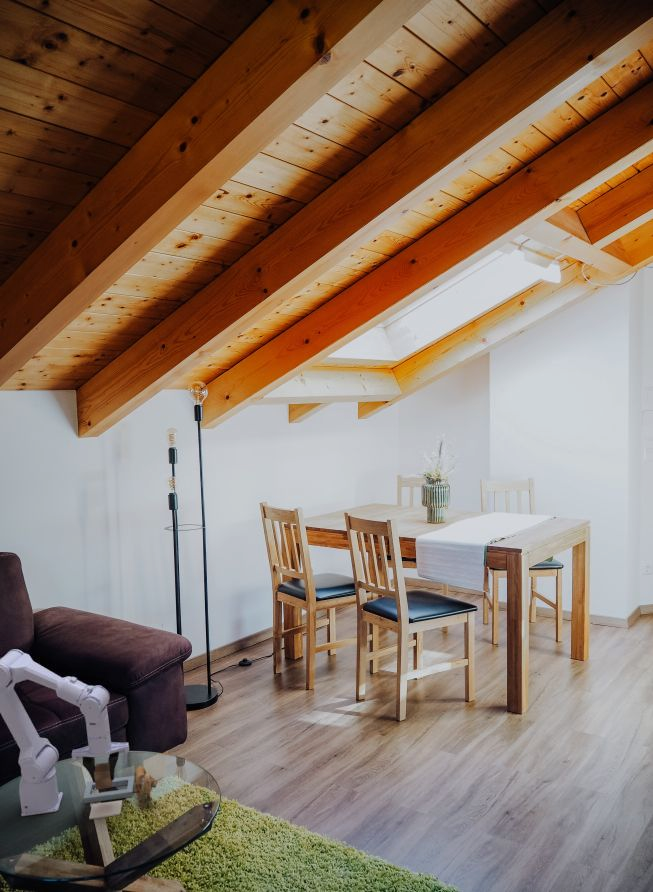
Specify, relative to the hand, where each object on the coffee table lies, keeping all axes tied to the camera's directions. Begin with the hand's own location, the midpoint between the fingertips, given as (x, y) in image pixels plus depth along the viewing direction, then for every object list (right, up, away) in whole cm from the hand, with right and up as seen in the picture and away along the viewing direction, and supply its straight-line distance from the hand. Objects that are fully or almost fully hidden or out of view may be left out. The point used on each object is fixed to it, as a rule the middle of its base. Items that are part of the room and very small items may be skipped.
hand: (103, 779), depth 205 cm
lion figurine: (+10, -7, +6) cm, 13 cm away
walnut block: (0, -2, +1) cm, 2 cm away
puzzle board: (-1, -7, +8) cm, 11 cm away
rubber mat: (+1, -9, 0) cm, 9 cm away
